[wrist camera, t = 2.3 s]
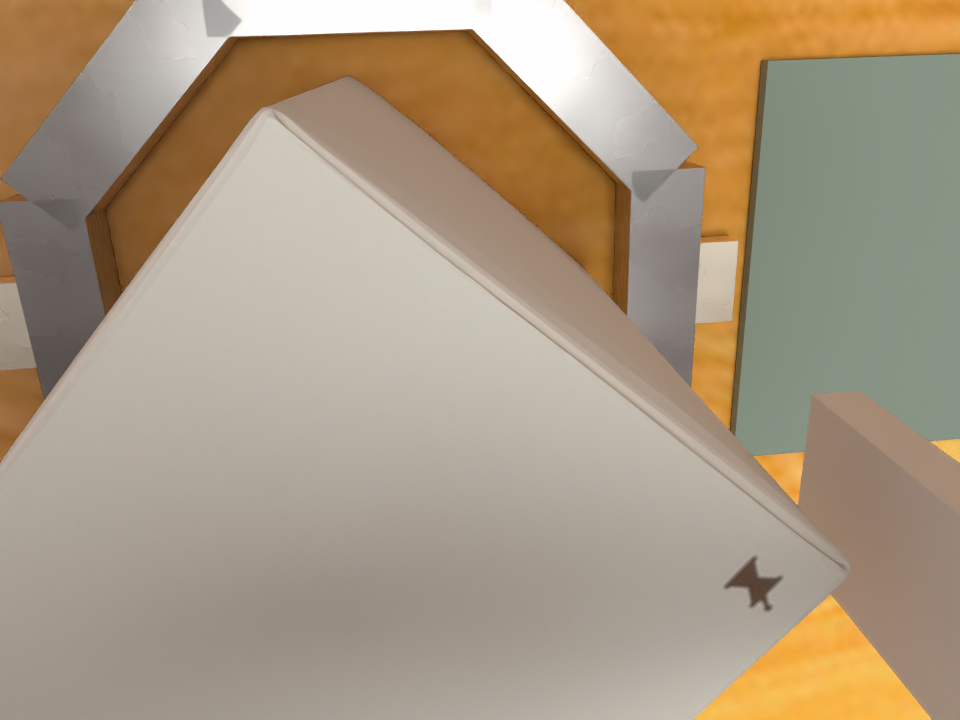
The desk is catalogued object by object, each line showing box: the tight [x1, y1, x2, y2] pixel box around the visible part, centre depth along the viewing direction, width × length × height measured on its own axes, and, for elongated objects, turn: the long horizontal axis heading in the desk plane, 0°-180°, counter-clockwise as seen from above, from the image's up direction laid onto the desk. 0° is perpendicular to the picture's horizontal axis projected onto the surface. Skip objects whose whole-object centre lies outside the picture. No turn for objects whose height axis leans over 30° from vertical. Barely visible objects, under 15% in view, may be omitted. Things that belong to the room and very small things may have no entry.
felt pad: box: [730, 54, 960, 456], centre depth 24 cm, size 12×12×1 cm
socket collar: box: [0, 0, 738, 400], centre depth 22 cm, size 21×18×2 cm
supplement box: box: [0, 76, 851, 720], centre depth 16 cm, size 9×9×15 cm
